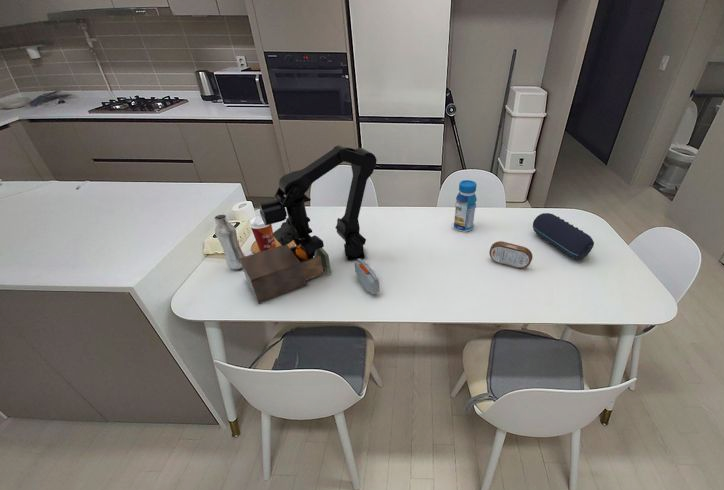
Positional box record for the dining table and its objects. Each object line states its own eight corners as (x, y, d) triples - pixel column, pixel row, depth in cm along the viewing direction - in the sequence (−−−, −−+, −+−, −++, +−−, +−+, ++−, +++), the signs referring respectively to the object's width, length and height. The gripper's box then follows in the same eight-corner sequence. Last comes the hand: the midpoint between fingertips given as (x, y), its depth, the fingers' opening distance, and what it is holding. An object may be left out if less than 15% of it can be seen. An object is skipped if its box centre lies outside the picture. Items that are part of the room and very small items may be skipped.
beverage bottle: (474, 232, 146) (480, 187, 134) (454, 232, 146) (458, 187, 134) (471, 222, 152) (477, 178, 140) (452, 222, 153) (456, 178, 141)
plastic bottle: (236, 273, 122) (217, 224, 110) (224, 267, 125) (205, 218, 113) (251, 264, 127) (235, 215, 115) (239, 259, 130) (222, 210, 118)
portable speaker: (593, 259, 130) (602, 236, 125) (574, 266, 127) (582, 243, 121) (545, 228, 149) (551, 207, 143) (527, 234, 145) (532, 212, 139)
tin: (530, 267, 126) (535, 247, 121) (528, 272, 124) (533, 252, 119) (489, 257, 131) (492, 238, 126) (487, 261, 129) (490, 242, 124)
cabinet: (291, 266, 126) (286, 243, 121) (306, 285, 117) (300, 262, 112) (247, 281, 119) (239, 258, 113) (258, 303, 110) (250, 280, 104)
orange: (316, 242, 122) (301, 236, 116) (320, 256, 118) (305, 250, 113) (304, 252, 124) (289, 246, 118) (307, 266, 120) (292, 260, 115)
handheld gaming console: (381, 296, 113) (379, 277, 109) (373, 299, 112) (371, 280, 107) (361, 273, 123) (359, 254, 118) (354, 275, 122) (351, 257, 117)
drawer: (320, 255, 130) (317, 237, 126) (334, 271, 122) (331, 253, 118) (278, 269, 123) (273, 251, 118) (290, 288, 115) (285, 269, 110)
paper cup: (273, 259, 130) (263, 226, 121) (254, 256, 131) (243, 224, 122) (283, 247, 136) (275, 215, 127) (265, 245, 137) (255, 213, 129)
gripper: (260, 212, 112) (272, 253, 121) (286, 236, 100) (296, 278, 110) (293, 202, 118) (301, 241, 127) (320, 223, 106) (327, 265, 116)
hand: (306, 256), depth 120 cm, fingers closed on orange, 6 cm apart
